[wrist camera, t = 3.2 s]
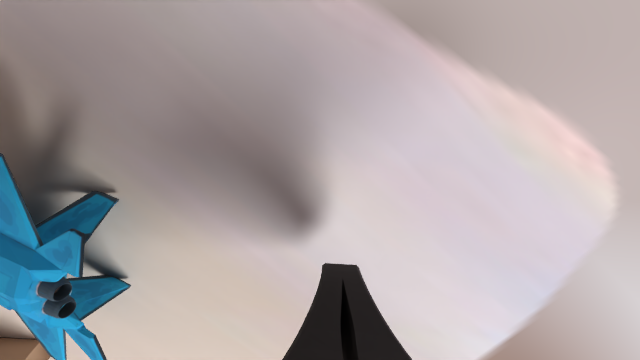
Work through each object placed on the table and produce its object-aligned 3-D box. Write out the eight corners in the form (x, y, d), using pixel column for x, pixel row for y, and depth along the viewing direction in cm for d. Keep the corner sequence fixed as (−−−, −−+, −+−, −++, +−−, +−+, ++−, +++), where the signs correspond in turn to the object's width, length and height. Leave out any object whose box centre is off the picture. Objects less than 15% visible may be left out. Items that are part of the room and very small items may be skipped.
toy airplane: (88, 97, 13) (-16, 133, 9) (225, 276, 16) (194, 355, 13) (-105, 203, 15) (-249, 266, 11) (54, 337, 19) (-15, 417, 15)
